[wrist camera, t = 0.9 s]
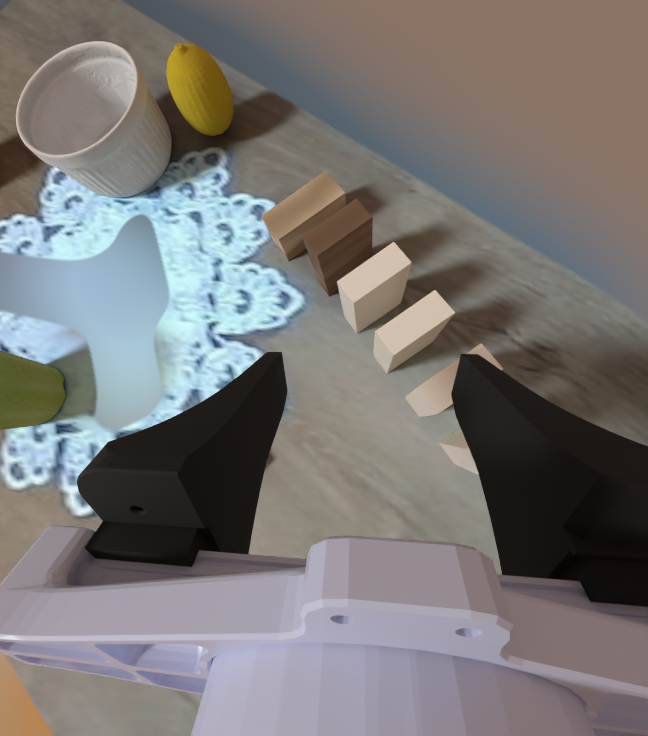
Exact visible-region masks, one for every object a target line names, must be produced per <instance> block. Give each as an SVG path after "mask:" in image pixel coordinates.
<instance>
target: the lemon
mask: <svg viewBox="0 0 648 736" xmlns="http://www.w3.org/2000/svg"><path fill="white" fill-rule="evenodd" d="M166 72H167V80H168V85H169V88H170V91H171V94H172V97H173V99H174V101H175V103H176V105H177V107H178V109H179V111H180V112H181V114H182V115H183V117H184V118H185V119H186V121H187V122H188V123H189V124H190V125H191V126H192V127H193V128H195V129H196V130H197V131H199V132H201V133H203V134H205V135H211V136H213V135H218V134H223V133H224V131H225V130H226V129H227V128H228V127H229V125H230V123H231V121H232V117H233V111H234V109H233V98H232V94H231V91H230V88H229V85H228V83H227V80H226V78H225V76H224V74H223V72H222V70H221V69H220V67H219V66H218V64H217V63H216V61H215V60H214V59H213V58H212V57H211V56H210V55H209V53H208V52H206V51H205V50H204V49H202V48H200V47H198V46H196V45H192V44H183V45H182V44H180V43H179V44H176V45H175V49H174V50H173V51H172V53H171V54H170V56H169V59H168V62H167V71H166Z"/></svg>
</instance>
